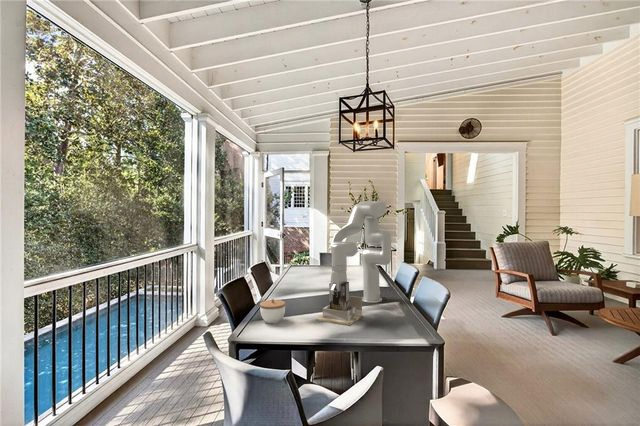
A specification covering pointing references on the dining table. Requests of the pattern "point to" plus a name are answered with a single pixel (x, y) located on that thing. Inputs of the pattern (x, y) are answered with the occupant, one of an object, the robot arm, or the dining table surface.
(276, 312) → the lidded bowl
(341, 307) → the coffee box
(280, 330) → the dining table surface
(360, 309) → the open wooden box
